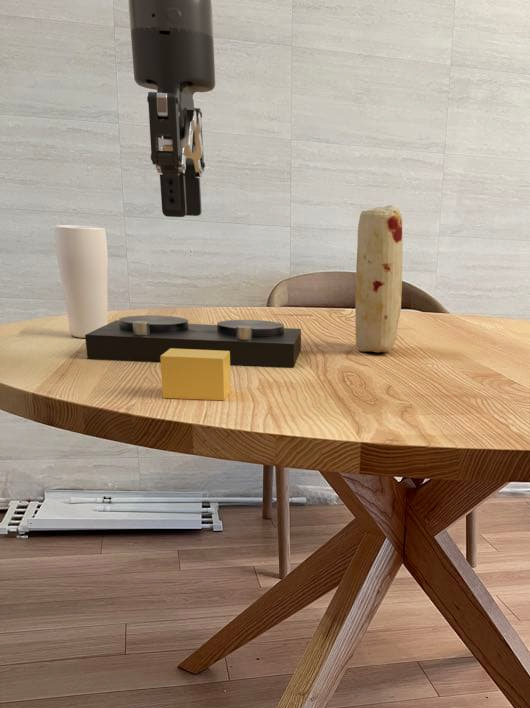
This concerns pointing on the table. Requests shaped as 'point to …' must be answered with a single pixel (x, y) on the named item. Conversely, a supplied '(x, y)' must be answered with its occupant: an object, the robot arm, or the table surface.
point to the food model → (378, 278)
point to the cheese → (195, 374)
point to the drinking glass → (83, 276)
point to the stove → (195, 340)
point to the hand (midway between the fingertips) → (183, 216)
